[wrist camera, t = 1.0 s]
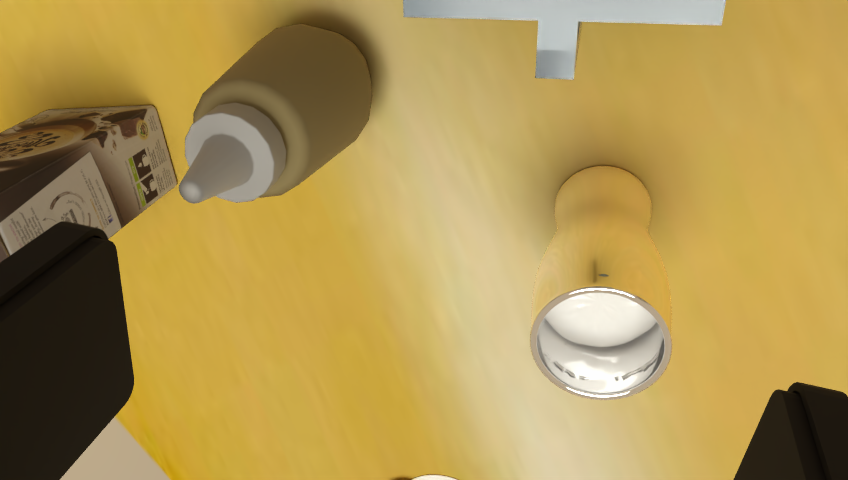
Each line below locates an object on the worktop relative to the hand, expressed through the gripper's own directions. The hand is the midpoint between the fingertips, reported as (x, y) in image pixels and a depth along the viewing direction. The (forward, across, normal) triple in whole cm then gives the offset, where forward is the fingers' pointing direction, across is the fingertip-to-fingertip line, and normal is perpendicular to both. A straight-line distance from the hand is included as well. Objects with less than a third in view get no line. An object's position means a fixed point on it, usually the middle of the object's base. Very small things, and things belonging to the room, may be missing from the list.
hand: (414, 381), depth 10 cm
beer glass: (+36, -5, +14) cm, 39 cm away
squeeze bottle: (+36, +14, +8) cm, 40 cm away
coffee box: (+36, +30, +16) cm, 50 cm away
